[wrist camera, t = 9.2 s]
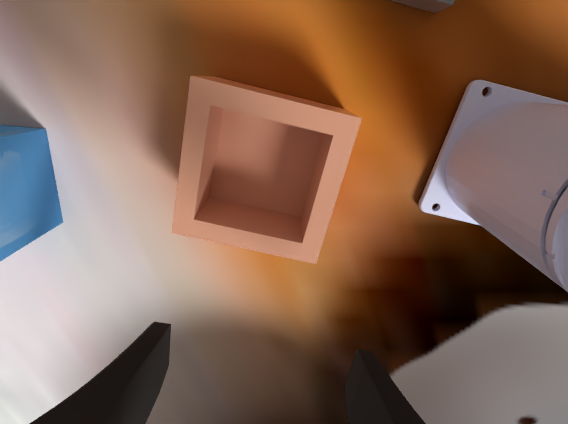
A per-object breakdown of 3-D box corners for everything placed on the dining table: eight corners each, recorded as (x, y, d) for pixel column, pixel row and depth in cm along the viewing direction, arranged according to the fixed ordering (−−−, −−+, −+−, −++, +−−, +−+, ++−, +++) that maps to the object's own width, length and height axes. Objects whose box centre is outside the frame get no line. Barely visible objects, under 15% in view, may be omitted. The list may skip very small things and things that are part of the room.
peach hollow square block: (344, 109, 19) (361, 118, 14) (310, 225, 22) (316, 264, 17) (215, 76, 19) (190, 75, 14) (197, 199, 21) (171, 232, 17)
